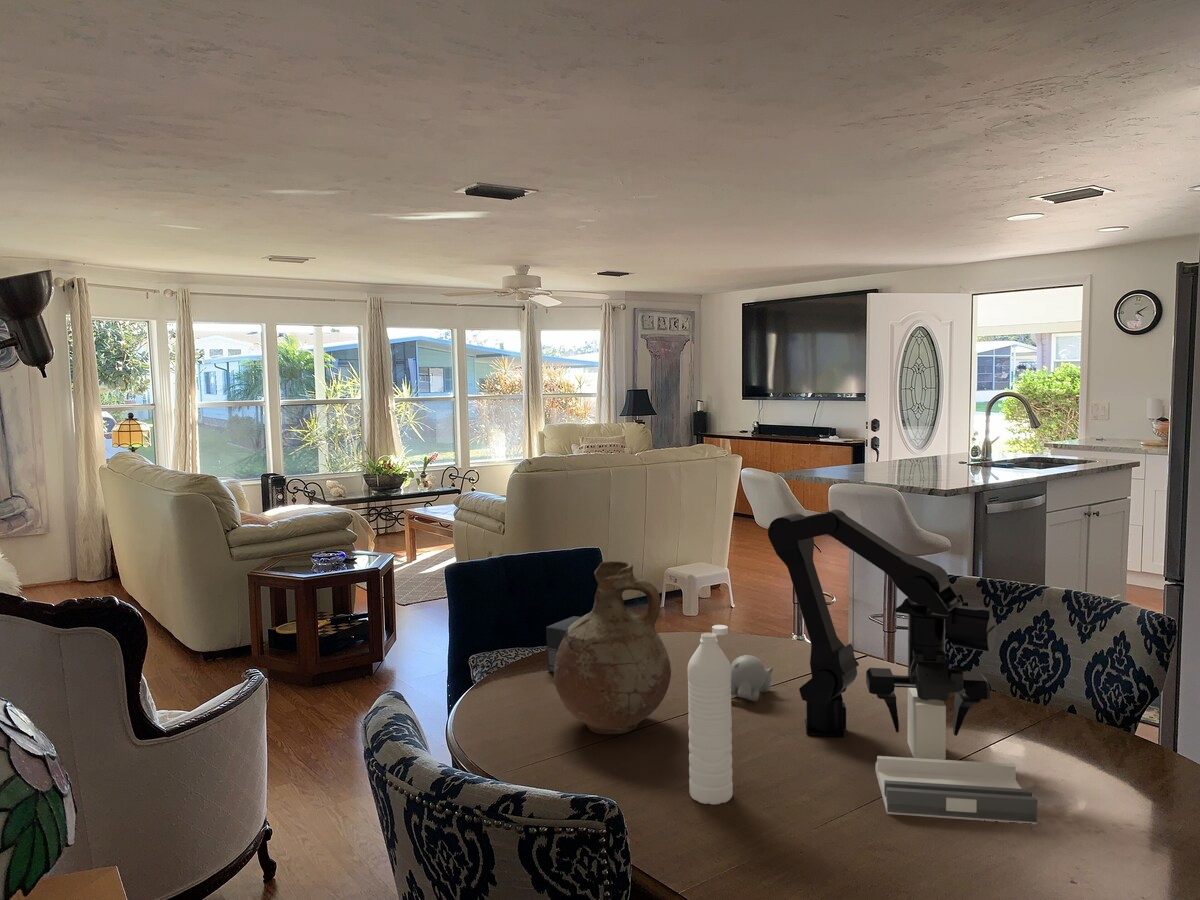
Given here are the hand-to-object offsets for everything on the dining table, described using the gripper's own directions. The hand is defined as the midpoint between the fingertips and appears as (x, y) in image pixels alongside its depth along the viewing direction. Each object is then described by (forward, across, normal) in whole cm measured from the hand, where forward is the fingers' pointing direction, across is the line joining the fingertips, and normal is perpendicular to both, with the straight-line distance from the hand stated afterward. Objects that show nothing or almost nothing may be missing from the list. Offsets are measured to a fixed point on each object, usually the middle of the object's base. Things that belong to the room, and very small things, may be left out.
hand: (925, 733), depth 143 cm
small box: (+4, -69, +36) cm, 78 cm away
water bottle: (+4, -34, -19) cm, 39 cm away
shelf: (+4, +1, -15) cm, 15 cm away
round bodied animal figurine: (+4, -29, +23) cm, 37 cm away
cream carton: (+4, 0, 0) cm, 4 cm away
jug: (+4, -54, +5) cm, 54 cm away
